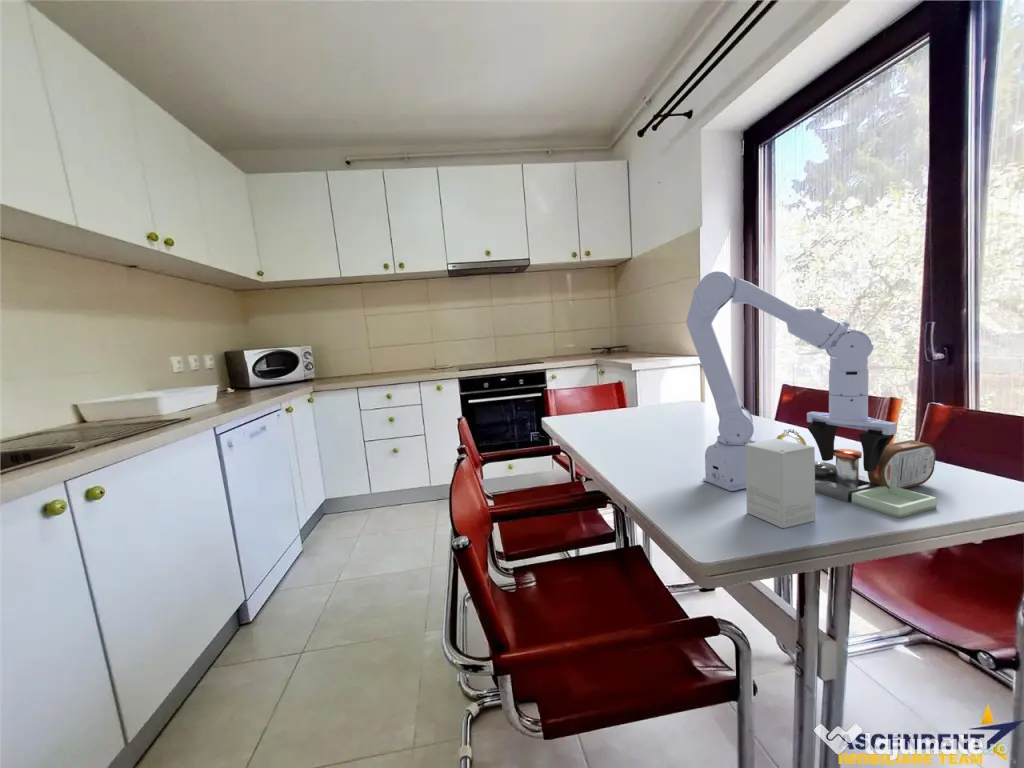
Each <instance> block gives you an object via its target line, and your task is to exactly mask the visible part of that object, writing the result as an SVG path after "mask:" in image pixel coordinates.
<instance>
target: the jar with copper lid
mask: <svg viewBox="0 0 1024 768" xmlns="http://www.w3.org/2000/svg"><path fill="white" fill-rule="evenodd" d="M862 454H863V452H861V451H859V450H858V449H857V450H856V449H852V448H851V449H849V448H836V449H835V448H834V450H833V455H834V456H833V457H835V466H836V484H840V485H843V486H847V487H850V488H855V487H859V475H860V459H862V458H863V455H862Z"/></svg>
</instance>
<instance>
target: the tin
mask: <svg viewBox="0 0 1024 768" xmlns="http://www.w3.org/2000/svg"><path fill="white" fill-rule="evenodd" d="M936 452H937V451H936V449H935V448H934V447H933V446H932V445H931V444H929V443H926V442H921V441H917V440H915V439H914V440H913V439H911V440H905V441H904V440H903V441H899V442H892V443H888V445H887V446H886V448H885V449H884V451H883V453H882V455H881V457H880V459H879V462H878V465H877V469H876V470H874V471H870V472H868V471H867V478H869V481H870V482H872V483H876V484H879V485H880V486H884V487H887V488H888V489H889V488H890V487H889V486H895V487H899V488H902V489H908V488H912V487H917V486H920V485H924V484H925V483H926V482H928V480H929V479H930V478H932V475H933V474H934V471H935V465H936V457H937V453H936Z"/></svg>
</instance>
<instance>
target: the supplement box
mask: <svg viewBox="0 0 1024 768" xmlns="http://www.w3.org/2000/svg"><path fill="white" fill-rule="evenodd" d="M815 452H816V451H815V446H811V445H807V444H806V445H803V444H799V443H798V442H794V441H793V442H792V441H787V440H780V439H776V438H773V439H767V440H761V441H756V442H755V443H750V444H745V459H746V488H745V490H746V491H745V494H746V496H745V497H746V513H747V514H750V515H752V516H754V517H757V518H759V519H761V520H763V521H765V522H767V523H770V524H771V525H774V526H777V527H779V528H781V529H787V528H790V527H794V526H799V525H804V524H806V523H807V524H808V523H810V522H814V521H816V492H815V461H816V460H815V457H816V456H815V455H816V454H815Z"/></svg>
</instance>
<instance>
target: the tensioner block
mask: <svg viewBox="0 0 1024 768" xmlns="http://www.w3.org/2000/svg"><path fill="white" fill-rule="evenodd" d="M879 486H880V485H879V484H876V483H872V482H870V481H869V478H868V476H863V475H860V474H859V487H855V488H850V487H847V486H843V485H840V484H836V464H833V463H829V462H826V461H816V460H815V493H817V494H821V495H825V496H826V497H830V498H833V499H837V500H840V501H842V502H845V503H852V493H855V492H859V491H863V490H867V489H871V488H875V487H879Z"/></svg>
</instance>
